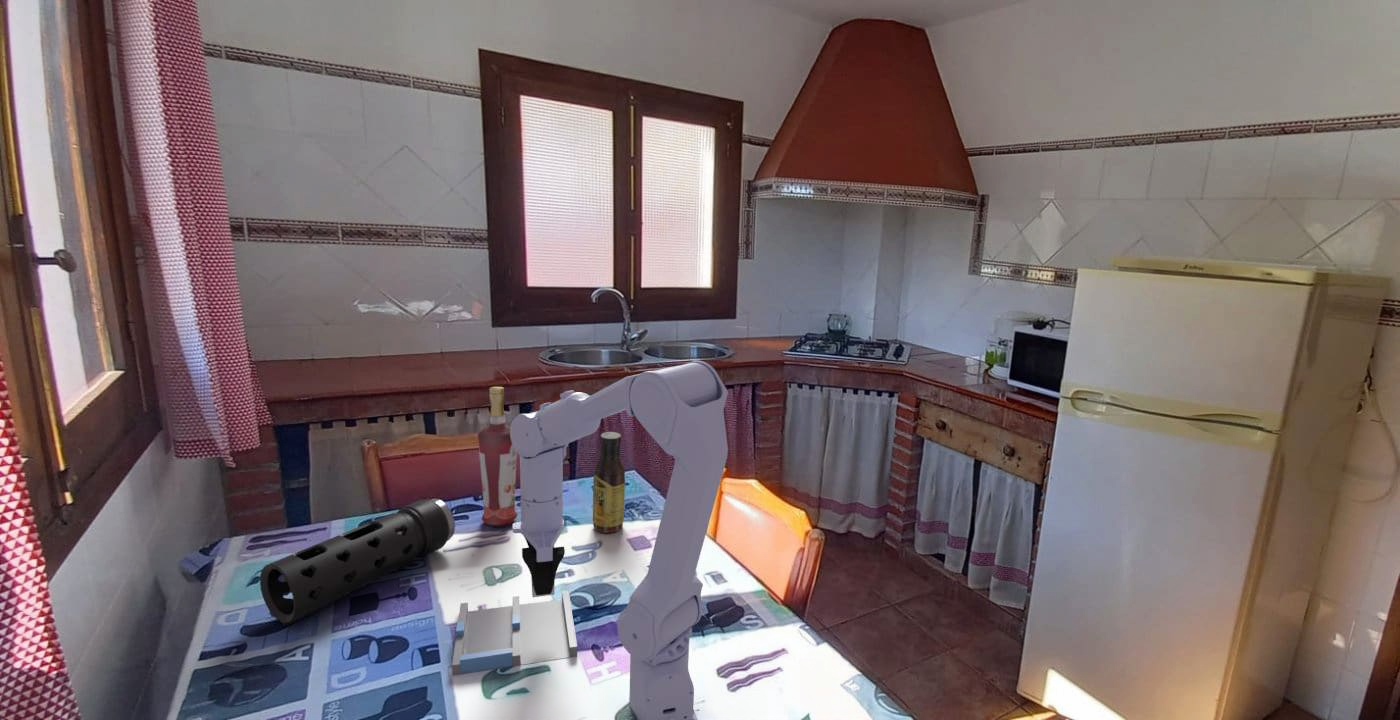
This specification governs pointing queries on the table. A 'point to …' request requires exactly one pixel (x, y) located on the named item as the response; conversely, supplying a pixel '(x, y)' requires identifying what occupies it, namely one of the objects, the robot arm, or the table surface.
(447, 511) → the muzzle brake
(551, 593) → the beige rectangular box
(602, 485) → the sauce bottle
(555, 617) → the board
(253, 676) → the table surface
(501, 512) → the liquor
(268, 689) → the table surface
